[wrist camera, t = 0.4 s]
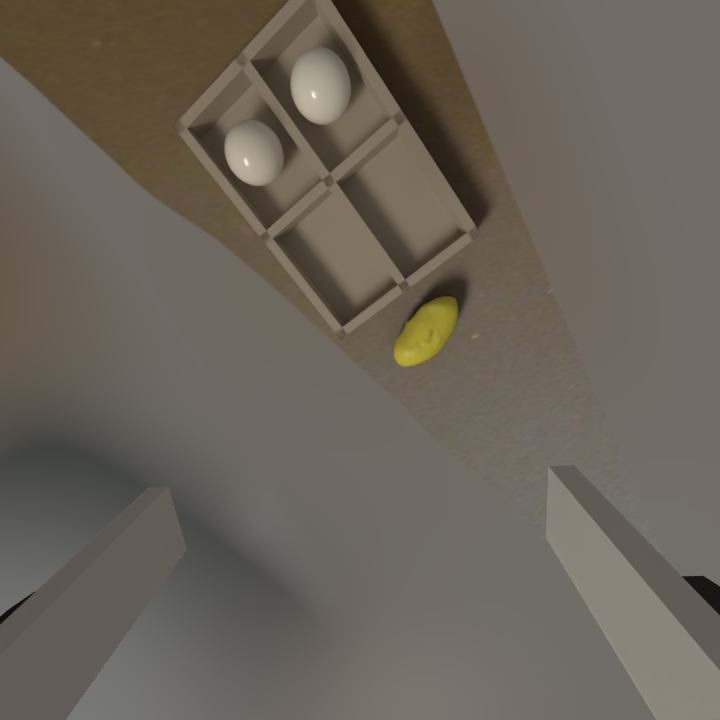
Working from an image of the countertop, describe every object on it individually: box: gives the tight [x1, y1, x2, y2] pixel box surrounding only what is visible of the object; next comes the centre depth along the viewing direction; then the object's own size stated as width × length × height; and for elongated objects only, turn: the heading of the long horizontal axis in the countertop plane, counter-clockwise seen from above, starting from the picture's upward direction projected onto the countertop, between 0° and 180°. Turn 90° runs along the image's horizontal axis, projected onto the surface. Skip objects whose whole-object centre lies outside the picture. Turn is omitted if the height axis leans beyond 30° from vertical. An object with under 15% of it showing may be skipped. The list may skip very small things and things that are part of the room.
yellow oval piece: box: [394, 296, 458, 366], centre depth 31 cm, size 4×8×4 cm, turn 138°
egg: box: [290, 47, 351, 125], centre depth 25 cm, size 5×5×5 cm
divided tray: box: [173, 0, 481, 339], centre depth 29 cm, size 22×15×3 cm
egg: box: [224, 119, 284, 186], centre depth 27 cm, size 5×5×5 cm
